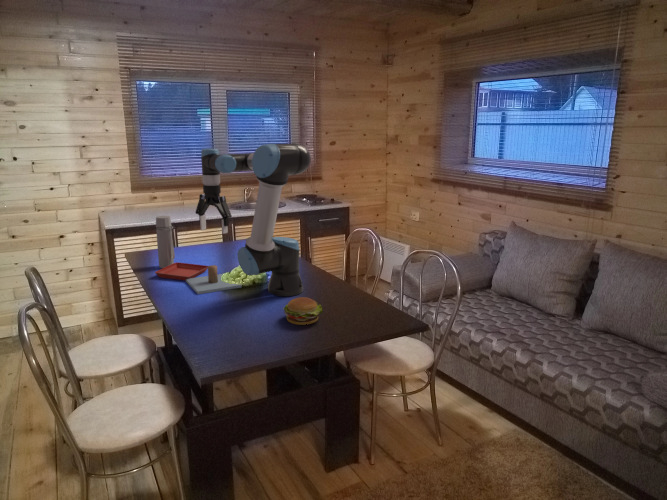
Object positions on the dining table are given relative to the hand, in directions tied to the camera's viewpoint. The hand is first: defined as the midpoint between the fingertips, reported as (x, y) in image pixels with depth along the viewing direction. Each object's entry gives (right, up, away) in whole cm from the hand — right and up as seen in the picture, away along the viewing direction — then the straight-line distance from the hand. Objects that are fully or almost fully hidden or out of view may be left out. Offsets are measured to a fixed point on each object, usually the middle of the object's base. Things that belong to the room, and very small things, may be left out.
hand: (214, 231), depth 228 cm
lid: (+1, -23, -6) cm, 24 cm away
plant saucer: (-16, -20, +7) cm, 27 cm away
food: (+43, -34, -42) cm, 69 cm away
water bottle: (-27, -17, +19) cm, 37 cm away
